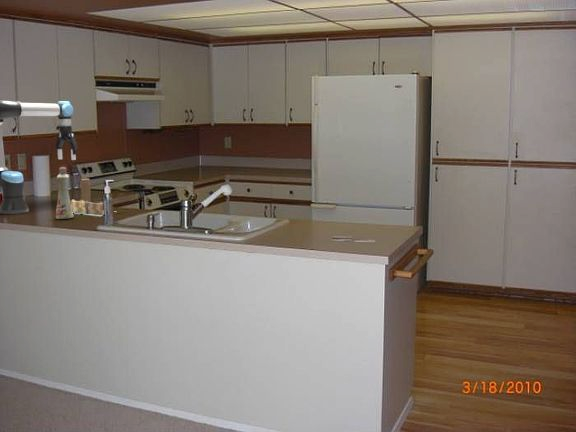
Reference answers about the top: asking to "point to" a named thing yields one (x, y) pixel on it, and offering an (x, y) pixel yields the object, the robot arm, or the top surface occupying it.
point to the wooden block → (85, 190)
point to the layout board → (88, 214)
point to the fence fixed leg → (94, 208)
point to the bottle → (63, 196)
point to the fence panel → (78, 206)
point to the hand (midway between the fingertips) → (66, 159)
